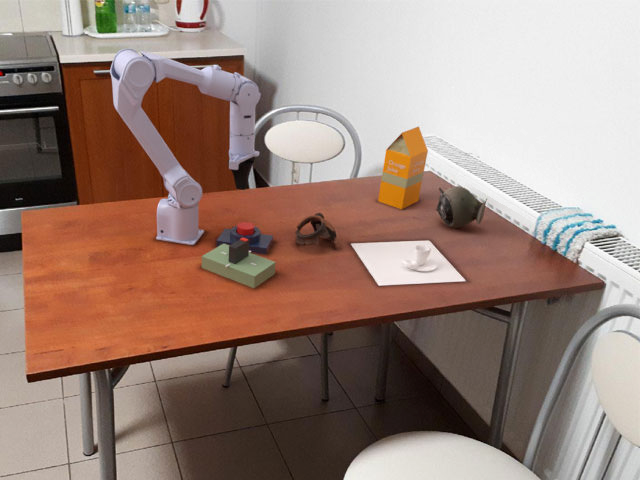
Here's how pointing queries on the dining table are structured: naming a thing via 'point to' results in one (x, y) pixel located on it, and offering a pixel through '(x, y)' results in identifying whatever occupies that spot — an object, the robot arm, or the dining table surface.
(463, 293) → the dining table surface
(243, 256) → the grey box red tab
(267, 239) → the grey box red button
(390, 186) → the orange juice
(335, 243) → the dark brown ringed frame
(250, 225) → the button
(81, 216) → the dining table surface
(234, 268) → the green toggle switch panel
